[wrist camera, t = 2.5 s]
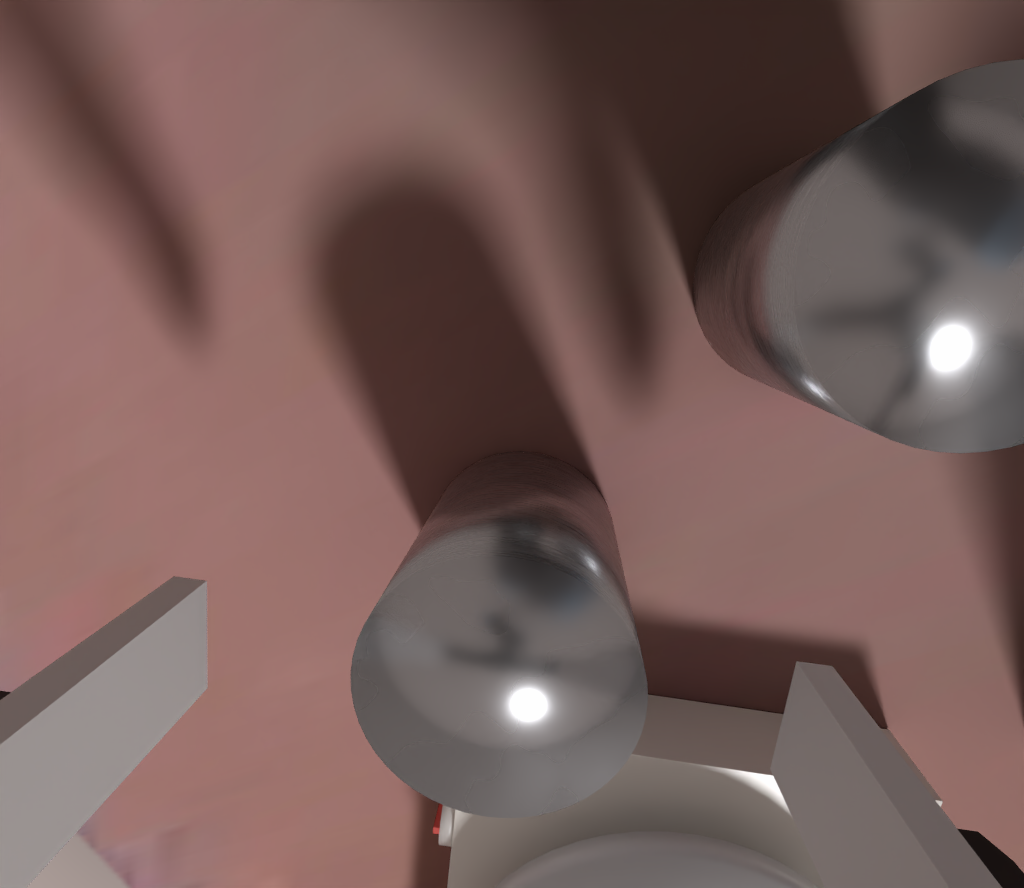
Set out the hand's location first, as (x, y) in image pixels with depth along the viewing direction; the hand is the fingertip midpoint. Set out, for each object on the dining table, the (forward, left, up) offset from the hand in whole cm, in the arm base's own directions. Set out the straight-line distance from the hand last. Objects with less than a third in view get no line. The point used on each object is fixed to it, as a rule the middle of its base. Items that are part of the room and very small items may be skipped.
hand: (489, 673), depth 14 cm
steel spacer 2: (-9, +7, -7) cm, 14 cm away
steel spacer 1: (0, 0, -7) cm, 7 cm away
